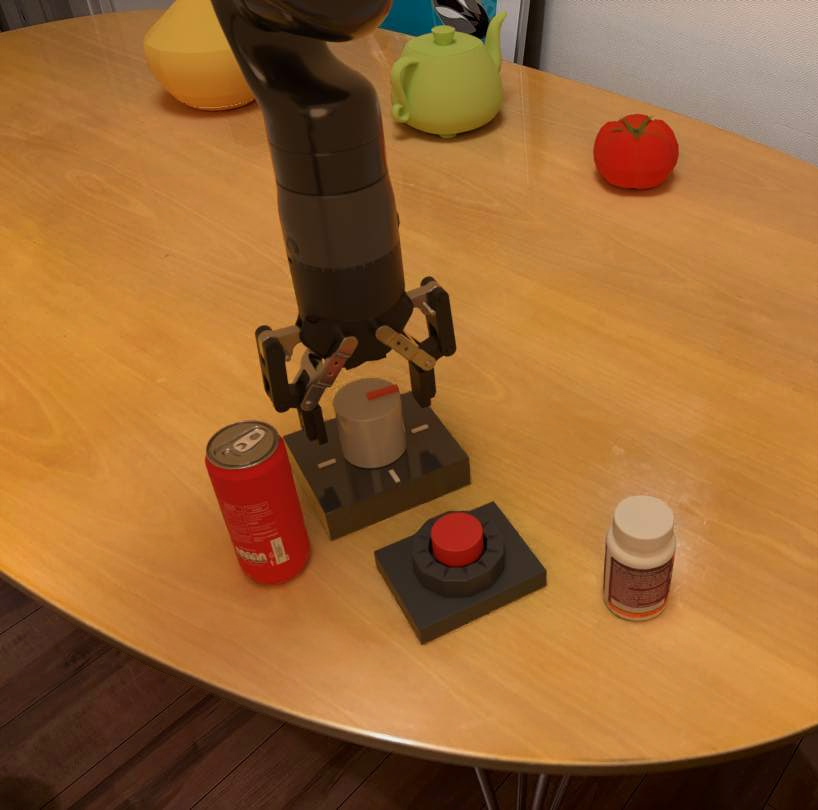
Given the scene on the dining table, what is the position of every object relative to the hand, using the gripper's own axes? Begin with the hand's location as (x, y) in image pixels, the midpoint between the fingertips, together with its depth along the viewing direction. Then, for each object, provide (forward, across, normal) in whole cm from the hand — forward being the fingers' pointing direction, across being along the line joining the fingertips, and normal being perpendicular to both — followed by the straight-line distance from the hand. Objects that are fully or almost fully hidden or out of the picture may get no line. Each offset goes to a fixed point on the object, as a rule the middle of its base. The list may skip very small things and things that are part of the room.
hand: (371, 419), depth 69 cm
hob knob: (+3, 0, 0) cm, 3 cm away
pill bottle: (+6, -11, +21) cm, 24 cm away
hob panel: (+6, 0, 0) cm, 6 cm away
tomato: (+6, -49, -34) cm, 60 cm away
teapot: (+6, -38, -62) cm, 73 cm away
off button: (+3, -1, +13) cm, 13 cm away
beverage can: (+6, +10, +5) cm, 13 cm away
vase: (+5, -11, -87) cm, 88 cm away
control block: (+6, -1, +13) cm, 14 cm away
